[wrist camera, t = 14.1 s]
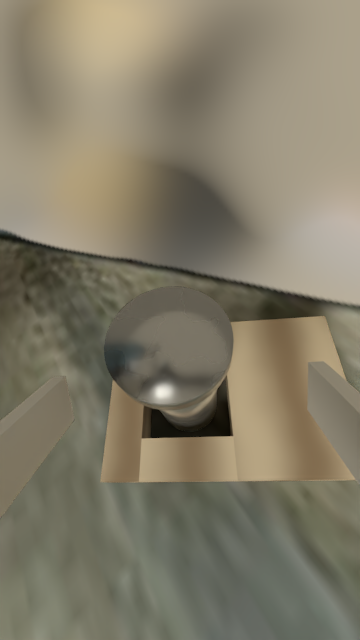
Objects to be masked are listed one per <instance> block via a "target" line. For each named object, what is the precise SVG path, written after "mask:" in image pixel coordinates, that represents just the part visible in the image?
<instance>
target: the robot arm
mask: <svg viewBox="0 0 360 640" xmlns="http://www.w3.org/2000/svg"><path fill="white" fill-rule="evenodd" d="M307 410H308V411H309V413H310V414H311V416H312V417H313V418H314V420H315V421H316V423H317V424H318V426H319V427H320V429H321V430H322V432H323V433H324V434H325V436H326V437H327V439H328V440H329V442H330V443H331V445H332V446H333V447H334V449H335V450H336V452H337V453H338V455H339V456H340V458H341V459H342V460H343V462H344V463H345V465H346V466H347V468H348V469H349V471H350V472H351V473H352V475H353V476H354V478H355V479H356V481H357V482H358V484H359V485H360V392H359V391H357V390H356V389H355V388H354V387H353V386H352V385H350V384H349V383H348V382H347V381H346V380H345V379H344V378H342V377H341V376H340V375H339V374H338V373H337V372H335V371H334V370H333V369H332V368H331V367H330V366H329V365H327V364H326V363H325V362H324V361H318V362H308V405H307ZM73 421H74V415H73V410H72V405H71V400H70V395H69V390H68V385H67V380H66V376H59V377H52V378H51V379H50V380H48V381H47V382H46V383H45V384H44V385H42V386H41V387H40V388H39V389H38V390H36V391H35V392H34V393H33V394H32V395H30V396H29V397H28V398H27V399H26V400H25V401H23V402H22V403H21V404H20V405H19V406H17V407H16V408H15V409H14V410H13V411H11V412H10V413H9V414H8V415H7V416H5V417H4V418H3V419H2V420H1V421H0V518H1V517H2V516H3V514H4V513H5V512H6V510H7V509H8V508H9V506H10V505H11V504H12V502H13V501H14V500H15V498H16V497H17V496H18V494H19V493H20V492H21V490H22V489H23V488H24V486H25V485H26V484H27V482H28V481H29V480H30V478H31V477H32V476H33V474H34V473H35V472H36V470H37V469H38V468H39V466H40V465H41V464H42V462H43V461H44V460H45V458H46V457H47V456H48V454H49V453H50V452H51V450H52V449H53V448H54V446H55V445H56V444H57V442H58V441H59V440H60V438H61V437H62V436H63V434H64V433H65V432H66V430H67V429H68V428H69V426H70V425H71V424H72V422H73Z"/></svg>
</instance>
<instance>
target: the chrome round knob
mask: <svg viewBox="0 0 360 640" xmlns="http://www.w3.org/2000/svg"><path fill="white" fill-rule="evenodd" d="M233 343H234V339H233V330H232V326H231V323H230V320H229V318H228V316H227V314H226V313H225V311H224V310H223V309H222V307H221V306H220V305H219V304H218V303H217V302H216V301H215V300H213V299H212V298H211V297H209V296H208V295H206V294H204V293H202V292H200V291H197V290H194V289H191V288H186V287H176V286H175V287H162V288H158V289H153V290H151V291H148V292H145V293H143V294H141V295H139V296H137V297H136V298H134V299H133V300H131V301H130V302H129V303H127V304H126V305H125V306H124V307H123V308H122V309H121V310H120V311H119V312H118V314H117V315H116V316H115V318H114V319H113V321H112V323H111V324H110V326H109V329H108V331H107V334H106V339H105V345H104V355H105V361H106V365H107V368H108V371H109V373H110V375H111V376H112V378H113V380H114V381H115V382H116V383H117V385H118V386H119V387H120V388H121V389H122V390H123V391H124V392H125V393H126V394H127V395H128V396H130V397H131V398H132V399H133V400H135V401H136V402H138V403H140V404H142V405H144V406H146V407H149V408H153V409H158V410H160V411H161V413H162V414H163V415H164V417H165V418H166V419H167V420H168V422H169V423H170V424H171V425H172V426H174V427H175V428H177V429H179V430H182V431H186V432H192V431H197V430H200V429H202V428H204V427H205V426H207V425H208V424H209V423H210V422H211V420H212V419H213V417H214V416H215V413H216V410H217V389H218V387H219V386H220V385H221V383H222V382H223V381H224V379H225V377H226V375H227V373H228V371H229V368H230V365H231V361H232V353H233Z"/></svg>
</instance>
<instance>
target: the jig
mask: <svg viewBox="0 0 360 640" xmlns="http://www.w3.org/2000/svg"><path fill="white" fill-rule="evenodd" d="M230 323H231V326H232V330H233V339H234V343H233V353H232V361H231V365H230V368H229V371H228V373H227V375H226V377H225V380H226V390H227V401H228V411H229V421H230V432H231V436H221V437H182V438H150V437H151V415H152V408H149V407H146V406H144V405H142V404H140V403H138V402H136V401H135V400H133V399H132V398H131V397H130V396H128V395H127V394H126V393H125V392H124V391H123V390H122V389H121V388H120V387H119V386H118V385H117V383H116V382H115V381H114V380H113V385H112V393H111V401H110V409H109V417H108V425H107V433H106V441H105V449H104V457H103V465H102V473H101V481H100V482H215V481H317V480H356V479H355V478H354V476H353V475H352V473H351V472H350V471H349V469H348V468H347V466H346V465H345V463H344V462H343V460H342V459H341V458H340V456H339V455H338V453H337V452H336V450H335V449H334V447H333V446H332V445H331V443H330V442H329V440H328V439H327V437H326V436H325V434H324V433H323V432H322V430H321V429H320V427H319V426H318V424H317V423H316V421H315V420H314V418H313V417H312V416H311V414H310V413H309V411H308V410H307V405H308V362H318V361H324V362H325V363H326V364H327V365H329V366H330V367H331V368H332V369H333V370H334V371H335V372H337V373H338V374H339V375H340V376H341V377H342V378H344V379H345V380H346V378H345V375H344V372H343V369H342V366H341V363H340V360H339V357H338V354H337V351H336V348H335V345H334V342H333V339H332V336H331V333H330V330H329V327H328V324H327V321H326V318H325V316H317V317H302V318H286V319H271V320H256V321H241V322H230Z"/></svg>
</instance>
